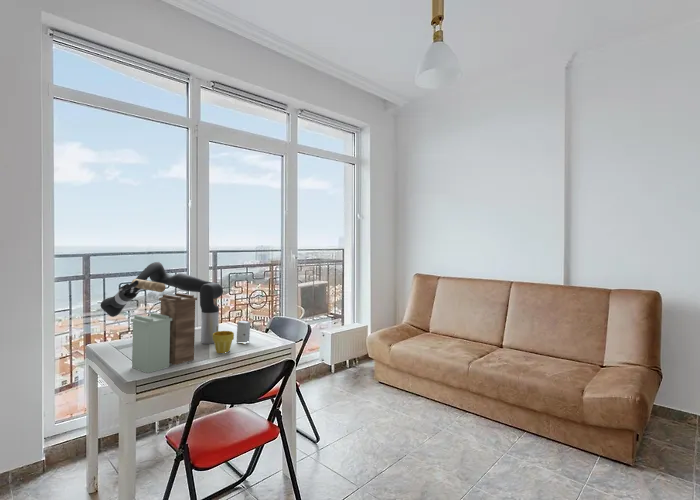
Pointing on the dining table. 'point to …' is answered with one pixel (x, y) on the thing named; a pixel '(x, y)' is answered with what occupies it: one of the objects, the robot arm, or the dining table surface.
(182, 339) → the walnut tub
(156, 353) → the pale green lidded tub
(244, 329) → the skincare box
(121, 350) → the dining table surface
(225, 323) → the dining table surface
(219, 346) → the plant pot
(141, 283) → the tan roll
